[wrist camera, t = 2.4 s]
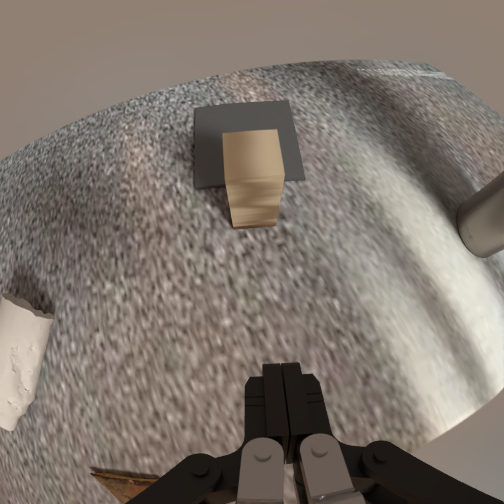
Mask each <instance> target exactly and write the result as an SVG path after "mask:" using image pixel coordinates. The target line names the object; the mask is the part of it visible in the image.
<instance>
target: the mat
mask: <svg viewBox="0 0 504 504" xmlns="http://www.w3.org/2000/svg"><path fill="white" fill-rule="evenodd" d="M273 129H277V132H278V137H279V143H280V149H281V154H282V160H283V166H284V172H285V177H284V181H299V180H305V175H304V170H303V165H302V160H301V155H300V150H299V145H298V141H297V136H296V131H295V127H294V123H293V118H292V114H291V110H290V105H289V101H266V102H249V103H236V104H225V105H215V106H206V107H198V108H195V189H201V188H211V187H221V186H226V183H225V173H224V155H223V136H222V133H231V132H242V131H256V130H273Z"/></svg>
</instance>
